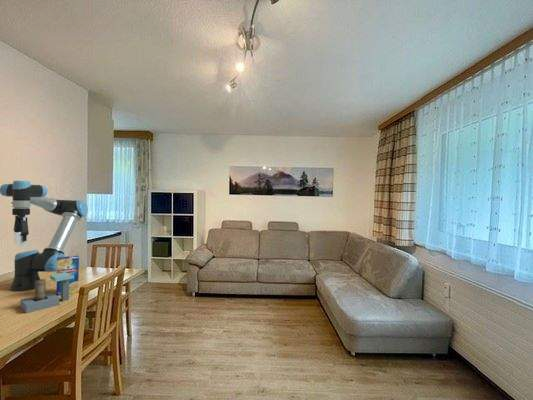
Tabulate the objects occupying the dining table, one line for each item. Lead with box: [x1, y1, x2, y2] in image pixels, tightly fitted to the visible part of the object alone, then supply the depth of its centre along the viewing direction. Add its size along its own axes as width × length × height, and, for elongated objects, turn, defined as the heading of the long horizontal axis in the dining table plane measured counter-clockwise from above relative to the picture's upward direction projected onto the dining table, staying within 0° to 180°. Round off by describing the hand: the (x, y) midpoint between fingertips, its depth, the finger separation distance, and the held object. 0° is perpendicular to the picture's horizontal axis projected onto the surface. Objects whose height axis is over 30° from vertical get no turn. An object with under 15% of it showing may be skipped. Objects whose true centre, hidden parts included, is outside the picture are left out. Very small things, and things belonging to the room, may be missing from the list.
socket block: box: [19, 292, 60, 314], centre depth 150 cm, size 12×14×4 cm
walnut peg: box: [34, 278, 47, 302], centre depth 150 cm, size 4×4×14 cm
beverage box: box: [55, 255, 80, 297], centre depth 170 cm, size 7×11×22 cm, turn 126°
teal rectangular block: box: [49, 272, 71, 302], centre depth 158 cm, size 9×8×15 cm
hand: (20, 245), depth 156 cm, fingers open, 13 cm apart
